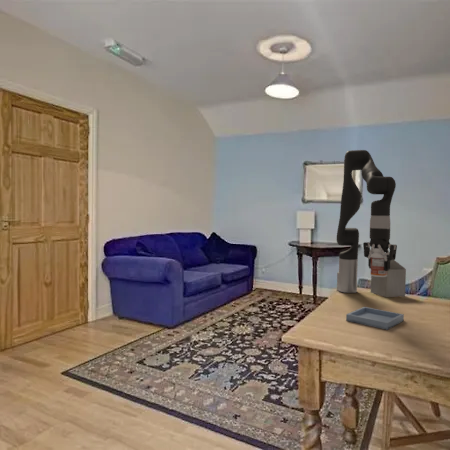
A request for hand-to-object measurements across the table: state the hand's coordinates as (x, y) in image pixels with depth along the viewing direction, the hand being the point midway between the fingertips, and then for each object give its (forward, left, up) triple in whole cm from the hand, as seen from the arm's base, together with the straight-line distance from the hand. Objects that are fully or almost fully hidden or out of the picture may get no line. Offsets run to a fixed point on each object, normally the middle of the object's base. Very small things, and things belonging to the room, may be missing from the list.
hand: (378, 269), depth 153 cm
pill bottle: (0, 0, -3) cm, 3 cm away
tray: (+1, -3, -20) cm, 20 cm away
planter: (-24, +38, -20) cm, 49 cm away
